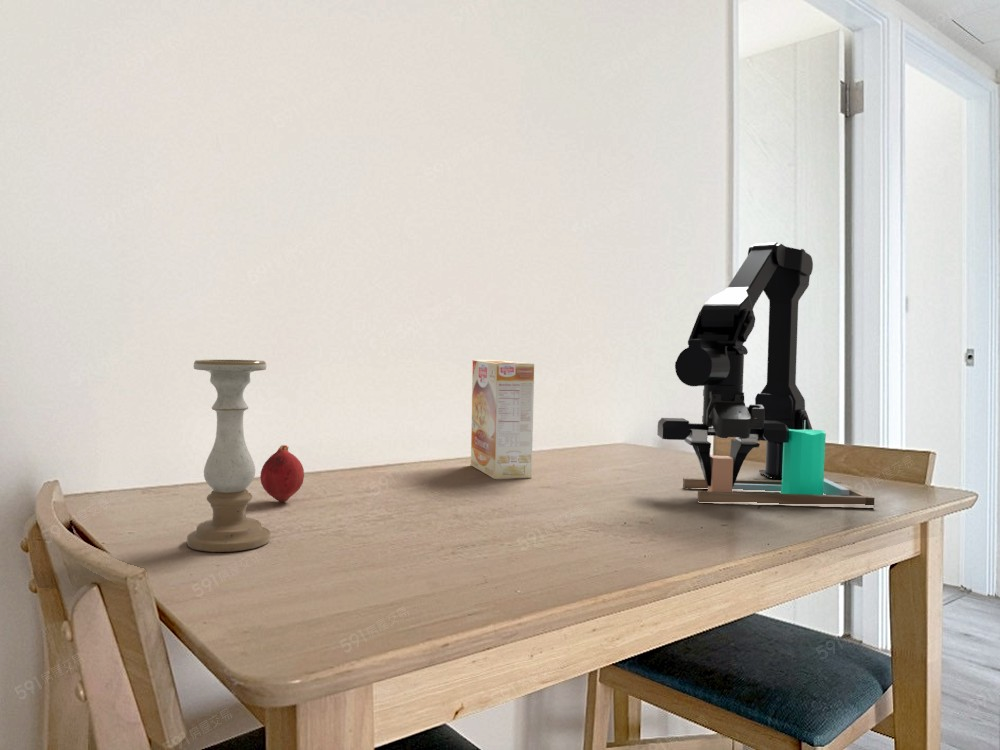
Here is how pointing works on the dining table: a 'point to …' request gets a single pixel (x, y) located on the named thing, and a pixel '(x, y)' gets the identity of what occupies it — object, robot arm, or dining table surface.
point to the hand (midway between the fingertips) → (719, 486)
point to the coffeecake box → (502, 418)
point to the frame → (724, 479)
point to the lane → (705, 496)
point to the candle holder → (229, 464)
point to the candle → (803, 462)
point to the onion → (282, 474)
